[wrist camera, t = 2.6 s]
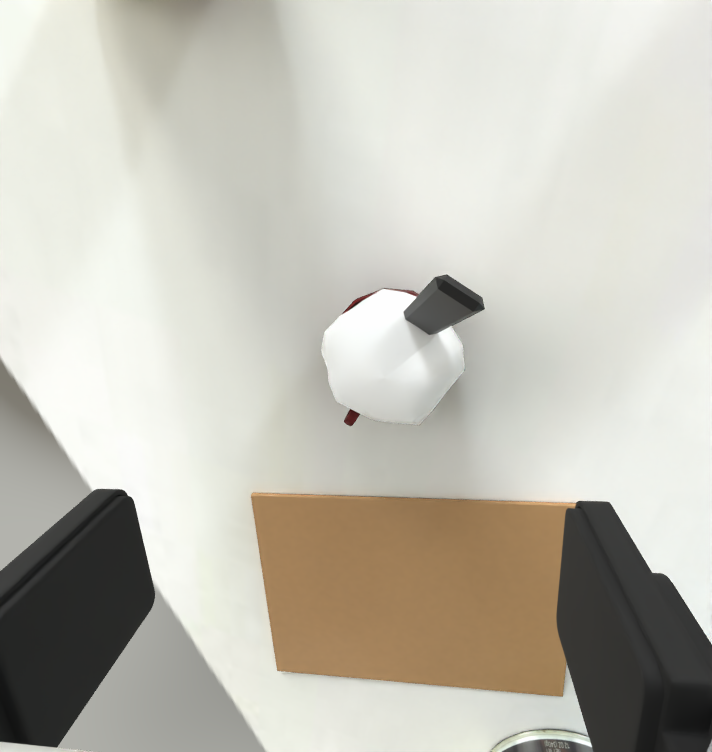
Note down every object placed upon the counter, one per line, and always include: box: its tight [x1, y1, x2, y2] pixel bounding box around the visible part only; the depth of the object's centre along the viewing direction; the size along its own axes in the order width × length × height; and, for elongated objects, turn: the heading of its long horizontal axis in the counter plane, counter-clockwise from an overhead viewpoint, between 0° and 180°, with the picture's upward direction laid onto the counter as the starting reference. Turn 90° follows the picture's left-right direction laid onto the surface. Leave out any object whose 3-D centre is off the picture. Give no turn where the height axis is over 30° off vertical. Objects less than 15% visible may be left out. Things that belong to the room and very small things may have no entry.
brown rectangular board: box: [251, 493, 576, 697], centre depth 33 cm, size 20×15×1 cm
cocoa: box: [321, 275, 485, 426], centre depth 22 cm, size 10×6×12 cm, turn 127°
